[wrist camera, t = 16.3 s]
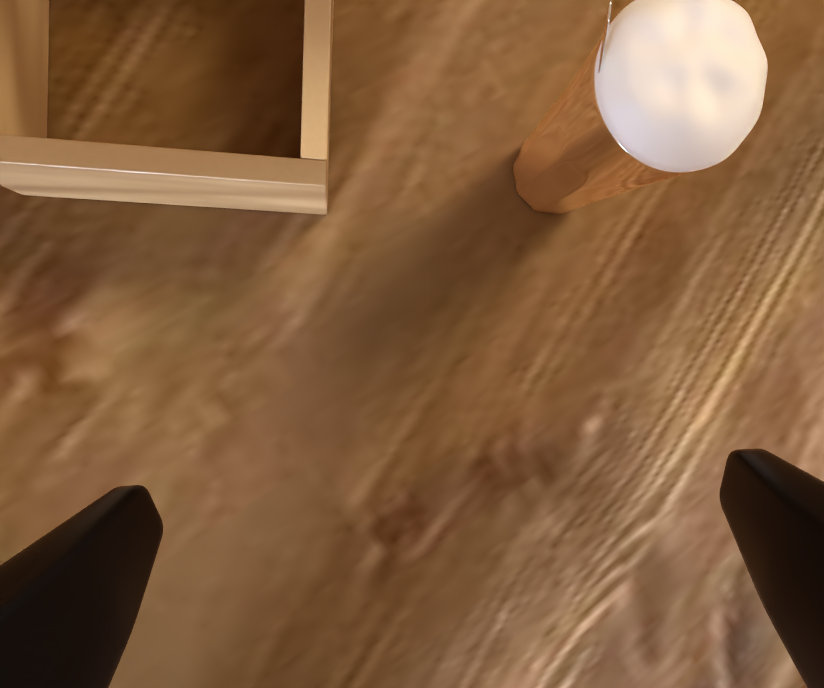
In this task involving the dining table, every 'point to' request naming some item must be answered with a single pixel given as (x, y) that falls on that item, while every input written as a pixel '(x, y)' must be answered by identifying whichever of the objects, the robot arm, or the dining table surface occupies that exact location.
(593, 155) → the milkshake
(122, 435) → the dining table surface
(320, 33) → the crate
